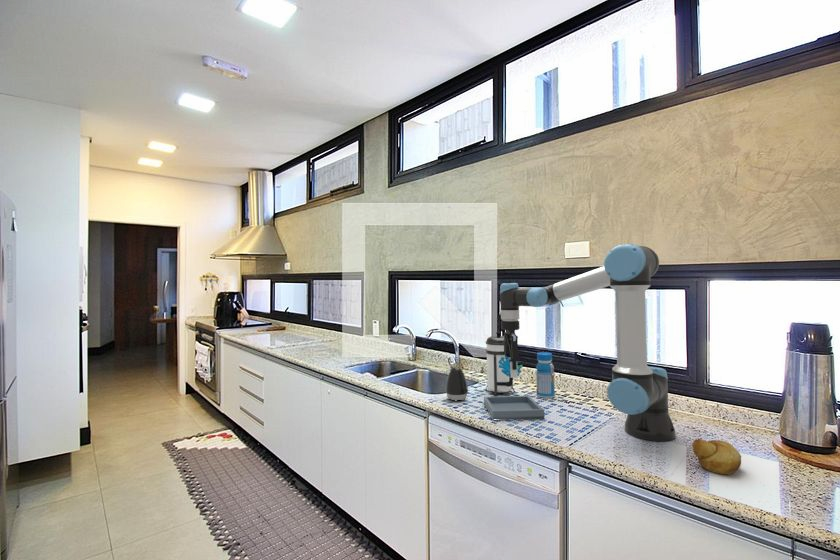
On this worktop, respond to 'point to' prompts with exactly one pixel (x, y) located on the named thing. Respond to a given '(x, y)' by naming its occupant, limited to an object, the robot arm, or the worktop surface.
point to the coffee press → (497, 366)
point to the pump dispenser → (456, 384)
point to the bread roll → (717, 456)
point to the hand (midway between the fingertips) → (511, 374)
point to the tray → (513, 407)
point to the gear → (507, 366)
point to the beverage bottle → (545, 375)
